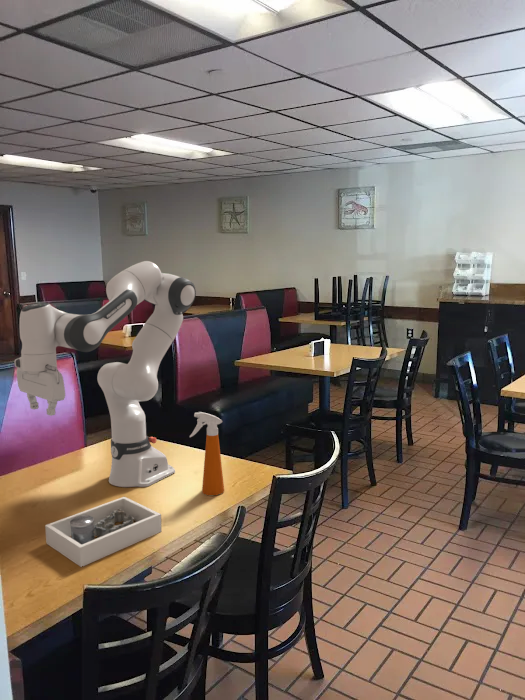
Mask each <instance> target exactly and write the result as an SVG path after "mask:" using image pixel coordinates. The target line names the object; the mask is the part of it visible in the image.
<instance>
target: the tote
mask: <svg viewBox="0 0 525 700" xmlns="http://www.w3.org/2000/svg"><path fill="white" fill-rule="evenodd" d="M118 508H120V510H122V511H124V512H125V513H126V516H128V517H129V515H130V516H131V517H133V516H134V517H135V519H133V521H135V522H133V524H131V525H128V526H126V527H124V528H121V529H119V530H116V531H114V532H111V533H109V534H107V535H104V536H98V537H97V538H94V540H92V541H89V542H87V543H85V544H82V545H81V544H80V543H78V542H77V541H75V540H74V539H72V538H71V526H70V521H71V520H72V519H73V518H75V517H78V516H84V515H87V516H92V517H93V518H94V525H95V524H96V523H98V522H99V521H100V520H103V519H104V518H106V516H109V515H110V514H111V512H113V511H115V510H116V509H118ZM44 528H45V529H44V530H45V539H46V540H45V541H46V542H45V543H46V545H48V546H50V547H51V548H52V549H54V550H55V551H57V552H58V553H60V554H61V555H63V556H64V557H66V559H69V560H70V561H72V562H73V563H74V564H76V565H78V566H79V567H80V568H83V567H85V566H87V565H89V564H91V563H93V562H94V563H95V561H98V560H101V559H103V558H105V557H107V556H109V555H112V554H114V553H116V552H119V551H120V550H123V549H125V548H128V547H130V546H132V545H134V544H136V543H140V541H144V540H145V539H148V538H150V537H152V536H154V535H156V534H159V533H161V532H162V514H161V513H159V512H157V511H155V510H153V509H152V508H149V507H148V506H145V505H143V504H142V503H141V504H140V503H138V502H137V501H135V500H133V499H131V498H129V497H126V496H122V497H119V498H116V499H113V500H111V501H108V502H105V503H103V504H100V505H97V506H94V507H91V508H89V509H86V510H84V511H81V512H78V513H76V514H73V515H70V516H67V517H64V518H61V519H59V520H56V521H54V522H50V523H47V524H45V525H44ZM82 566H83V567H82Z"/></svg>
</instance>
